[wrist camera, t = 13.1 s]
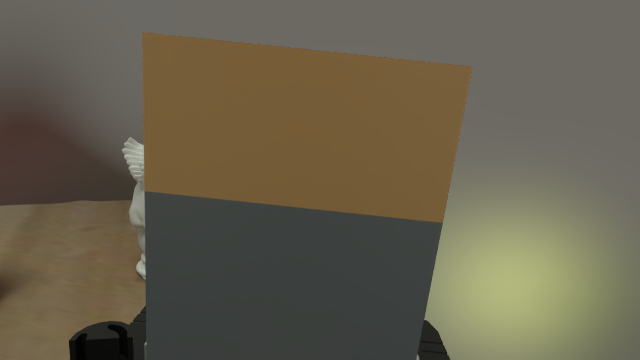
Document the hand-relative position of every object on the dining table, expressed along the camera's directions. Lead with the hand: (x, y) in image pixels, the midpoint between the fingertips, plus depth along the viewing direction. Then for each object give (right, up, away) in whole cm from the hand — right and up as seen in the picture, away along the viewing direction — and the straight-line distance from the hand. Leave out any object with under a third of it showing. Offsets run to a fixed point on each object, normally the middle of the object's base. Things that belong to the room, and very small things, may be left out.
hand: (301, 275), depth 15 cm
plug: (-1, -11, -3) cm, 11 cm away
